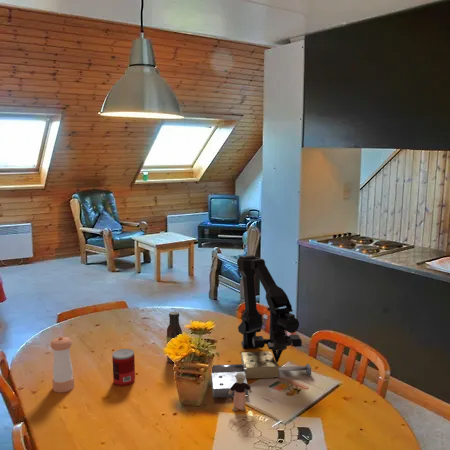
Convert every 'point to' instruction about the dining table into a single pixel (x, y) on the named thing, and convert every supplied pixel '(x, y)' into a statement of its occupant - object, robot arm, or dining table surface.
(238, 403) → the grandmother figurine
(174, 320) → the sauce bottle
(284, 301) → the robot arm
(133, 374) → the canned food
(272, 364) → the beige block with rivets
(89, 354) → the dining table surface
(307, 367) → the fixed leaf
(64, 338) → the pepper shaker
